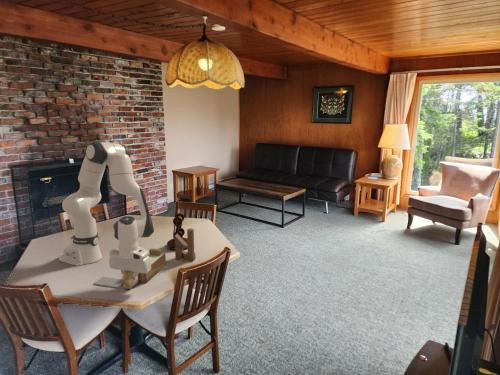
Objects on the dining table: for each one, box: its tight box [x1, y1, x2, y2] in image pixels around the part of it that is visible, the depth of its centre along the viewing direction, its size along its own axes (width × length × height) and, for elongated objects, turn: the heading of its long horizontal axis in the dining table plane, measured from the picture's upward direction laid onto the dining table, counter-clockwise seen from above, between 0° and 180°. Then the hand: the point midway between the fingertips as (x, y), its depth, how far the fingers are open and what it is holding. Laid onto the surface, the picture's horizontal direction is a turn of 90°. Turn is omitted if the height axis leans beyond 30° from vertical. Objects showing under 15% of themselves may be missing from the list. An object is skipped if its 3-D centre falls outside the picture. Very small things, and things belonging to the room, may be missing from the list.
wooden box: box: [138, 252, 167, 284], centre depth 178 cm, size 10×20×7 cm, turn 167°
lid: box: [148, 248, 164, 264], centre depth 177 cm, size 8×20×4 cm, turn 166°
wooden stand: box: [174, 228, 196, 262], centre depth 193 cm, size 4×11×18 cm, turn 78°
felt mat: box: [93, 276, 123, 289], centre depth 168 cm, size 13×7×1 cm, turn 77°
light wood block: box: [121, 270, 139, 290], centre depth 164 cm, size 4×7×8 cm, turn 166°
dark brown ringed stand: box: [166, 212, 188, 250], centre depth 211 cm, size 15×15×20 cm
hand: (130, 278), depth 164 cm, fingers closed on light wood block, 3 cm apart
